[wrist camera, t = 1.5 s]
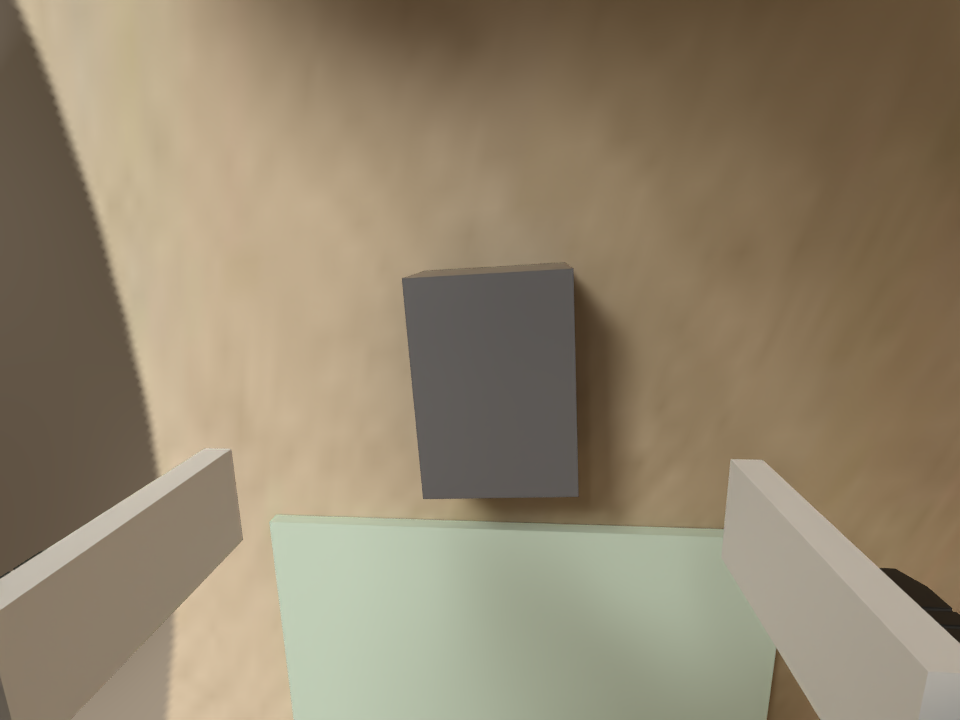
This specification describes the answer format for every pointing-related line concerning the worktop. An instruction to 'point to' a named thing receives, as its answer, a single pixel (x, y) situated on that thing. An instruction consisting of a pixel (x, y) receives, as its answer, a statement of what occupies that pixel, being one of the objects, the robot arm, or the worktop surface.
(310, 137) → the worktop surface
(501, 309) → the dark gray card box
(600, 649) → the rubber mat
